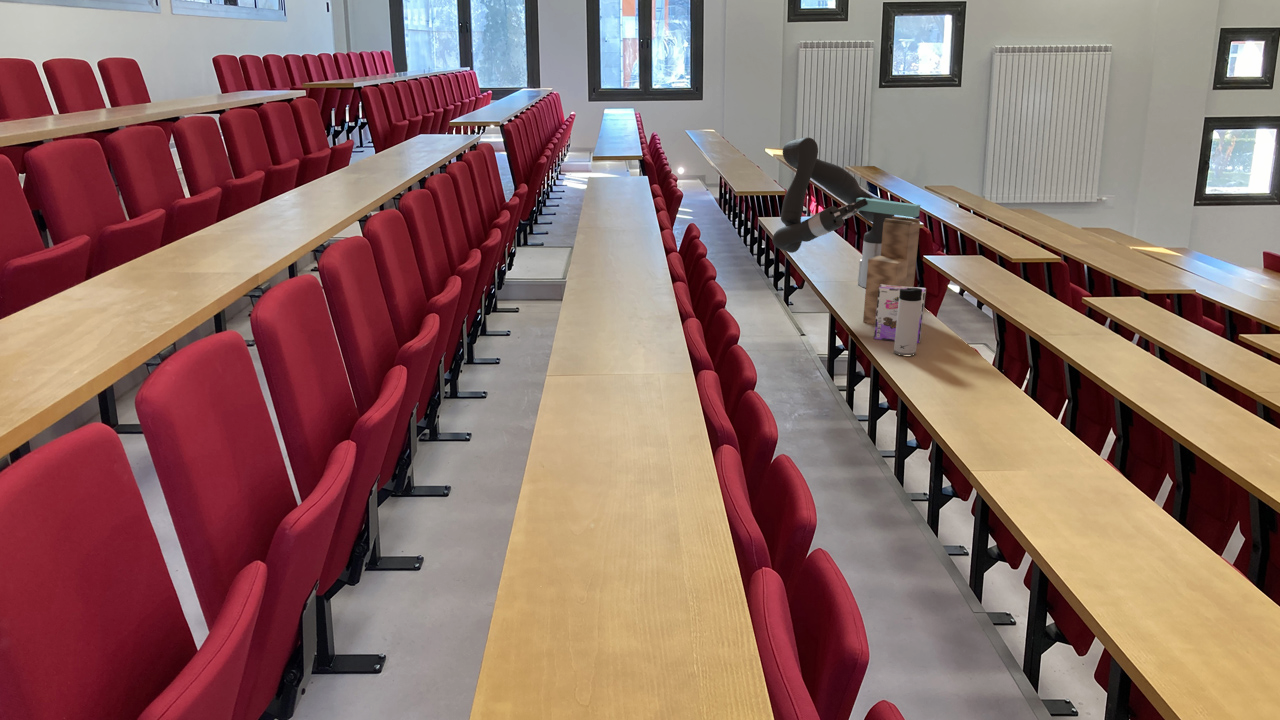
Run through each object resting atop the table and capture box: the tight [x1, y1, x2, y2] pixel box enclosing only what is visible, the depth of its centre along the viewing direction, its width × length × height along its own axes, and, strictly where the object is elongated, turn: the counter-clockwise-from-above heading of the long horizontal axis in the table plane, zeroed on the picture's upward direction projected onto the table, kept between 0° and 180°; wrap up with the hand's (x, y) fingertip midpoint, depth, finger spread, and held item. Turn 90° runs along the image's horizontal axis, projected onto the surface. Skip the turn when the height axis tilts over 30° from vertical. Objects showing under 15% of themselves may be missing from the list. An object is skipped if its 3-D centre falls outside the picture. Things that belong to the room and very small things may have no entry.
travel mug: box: [893, 287, 922, 355], centre depth 265 cm, size 6×7×20 cm
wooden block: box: [862, 255, 908, 325], centre depth 296 cm, size 10×8×21 cm
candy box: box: [873, 284, 927, 344], centre depth 279 cm, size 14×6×16 cm, turn 70°
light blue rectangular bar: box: [856, 198, 921, 219], centre depth 289 cm, size 20×4×4 cm, turn 51°
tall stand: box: [881, 215, 921, 287], centre depth 300 cm, size 9×8×33 cm
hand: (869, 200), depth 292 cm, fingers closed on light blue rectangular bar, 3 cm apart
